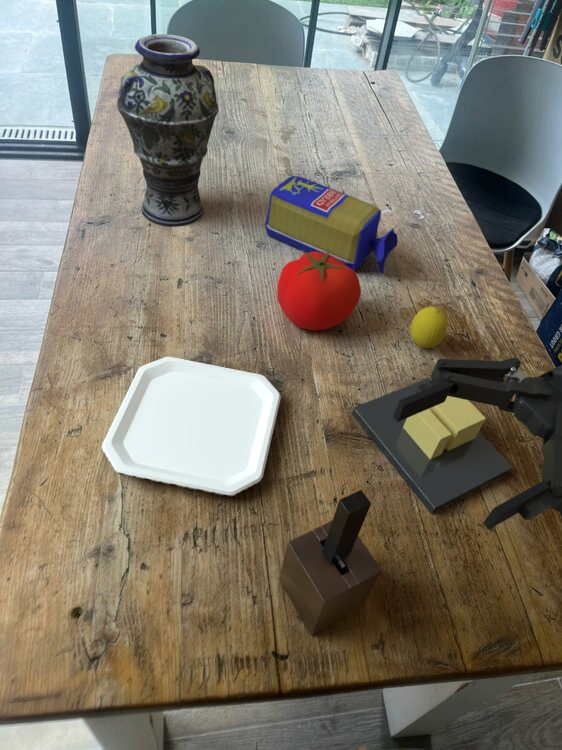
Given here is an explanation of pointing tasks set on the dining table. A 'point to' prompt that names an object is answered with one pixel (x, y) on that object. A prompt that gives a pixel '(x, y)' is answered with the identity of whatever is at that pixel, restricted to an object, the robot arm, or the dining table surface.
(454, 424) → the butter
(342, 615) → the knife block
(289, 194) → the bread
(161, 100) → the vase
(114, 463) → the plate
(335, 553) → the knife
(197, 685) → the dining table surface
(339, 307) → the tomato
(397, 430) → the board
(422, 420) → the butter slice
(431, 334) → the lemon
